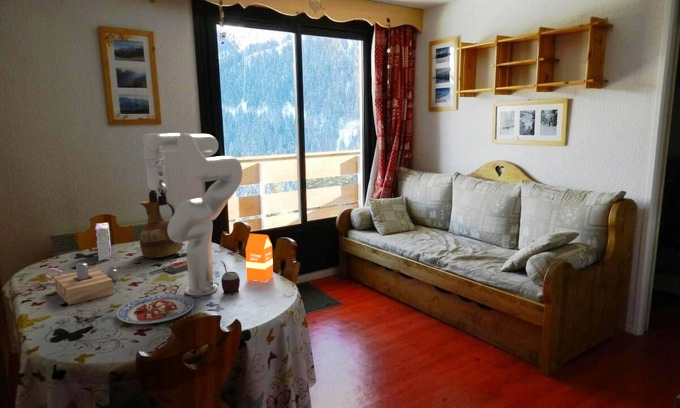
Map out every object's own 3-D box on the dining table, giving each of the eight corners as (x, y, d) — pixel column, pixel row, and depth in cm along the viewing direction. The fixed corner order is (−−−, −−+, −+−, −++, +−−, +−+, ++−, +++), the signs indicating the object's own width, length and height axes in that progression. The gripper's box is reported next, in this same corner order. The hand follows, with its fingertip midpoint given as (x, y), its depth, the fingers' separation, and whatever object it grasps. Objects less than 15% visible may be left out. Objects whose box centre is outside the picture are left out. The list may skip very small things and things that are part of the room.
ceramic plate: (106, 313, 166) (105, 305, 165) (174, 294, 184) (173, 287, 183) (134, 336, 148) (133, 327, 147) (207, 312, 166) (206, 305, 165)
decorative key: (97, 283, 204) (44, 283, 195) (97, 283, 205) (44, 283, 196) (99, 269, 203) (45, 268, 194) (99, 268, 204) (46, 267, 195)
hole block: (113, 293, 184) (112, 279, 183) (68, 304, 173) (67, 289, 172) (98, 281, 198) (96, 268, 197) (55, 291, 187) (53, 276, 186)
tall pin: (91, 292, 185) (88, 264, 183) (80, 295, 183) (77, 266, 181) (88, 290, 188) (85, 261, 186) (77, 292, 186) (74, 263, 183)
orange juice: (265, 283, 195) (263, 237, 192) (246, 280, 198) (244, 235, 195) (273, 277, 203) (272, 232, 199) (255, 275, 206) (253, 231, 202)
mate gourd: (238, 288, 189) (236, 253, 186) (241, 295, 182) (240, 258, 179) (220, 291, 186) (218, 255, 184) (222, 298, 179) (220, 261, 176)
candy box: (99, 254, 239) (96, 223, 236) (111, 252, 241) (108, 222, 238) (97, 261, 227) (94, 228, 224) (111, 259, 229) (108, 227, 226)
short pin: (120, 281, 199) (118, 270, 198) (110, 283, 196) (109, 272, 195) (116, 278, 201) (115, 267, 201) (107, 281, 199) (105, 270, 198)
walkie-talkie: (185, 264, 223) (148, 275, 207) (185, 255, 222) (147, 265, 206) (197, 267, 218) (160, 279, 202) (196, 258, 217) (159, 269, 201)
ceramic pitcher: (143, 252, 242) (138, 196, 237) (183, 248, 248) (179, 193, 243) (139, 262, 224) (133, 202, 219) (182, 259, 230) (178, 200, 224)
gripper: (172, 164, 189) (175, 205, 192) (155, 161, 201) (158, 200, 204) (154, 165, 184) (157, 207, 187) (138, 162, 196) (141, 202, 199)
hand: (158, 203), depth 196 cm, fingers open, 9 cm apart
